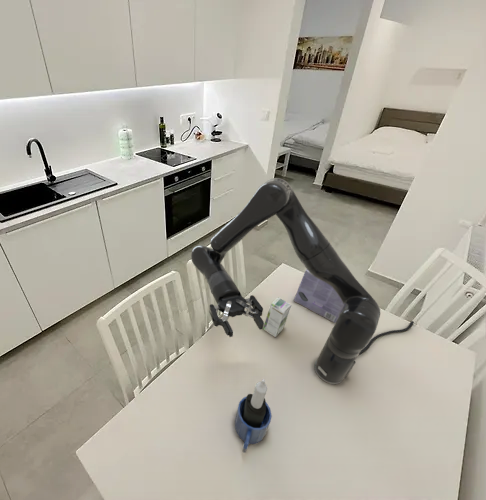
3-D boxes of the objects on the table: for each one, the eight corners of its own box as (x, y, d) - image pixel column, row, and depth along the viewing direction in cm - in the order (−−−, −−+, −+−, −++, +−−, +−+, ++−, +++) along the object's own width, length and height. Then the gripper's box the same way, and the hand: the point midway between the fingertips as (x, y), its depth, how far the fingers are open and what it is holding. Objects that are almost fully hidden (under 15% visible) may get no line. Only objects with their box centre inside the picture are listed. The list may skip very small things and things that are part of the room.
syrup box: (270, 321, 115) (277, 296, 106) (283, 329, 112) (292, 304, 103) (262, 329, 112) (269, 304, 103) (276, 338, 108) (284, 313, 100)
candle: (258, 436, 81) (275, 392, 66) (240, 432, 82) (252, 388, 67) (258, 417, 85) (274, 372, 70) (241, 413, 86) (253, 368, 71)
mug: (239, 405, 88) (242, 390, 83) (268, 418, 86) (274, 403, 80) (227, 448, 79) (230, 434, 74) (259, 463, 76) (265, 450, 71)
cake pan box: (342, 318, 117) (357, 287, 106) (337, 325, 114) (353, 294, 103) (297, 295, 127) (308, 264, 116) (292, 301, 124) (303, 270, 113)
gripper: (201, 284, 82) (222, 328, 70) (246, 275, 86) (274, 315, 73) (201, 302, 87) (220, 346, 74) (243, 293, 90) (269, 333, 78)
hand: (247, 331), depth 74 cm, fingers open, 8 cm apart
